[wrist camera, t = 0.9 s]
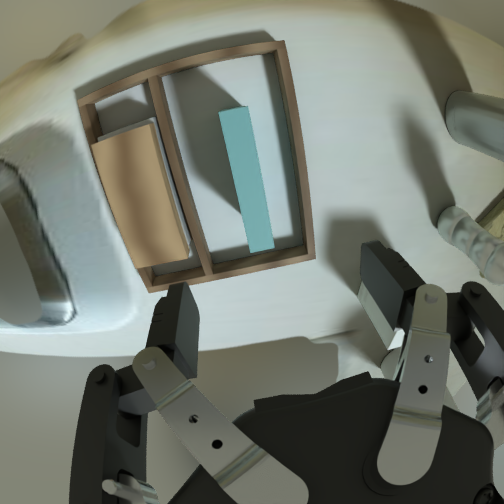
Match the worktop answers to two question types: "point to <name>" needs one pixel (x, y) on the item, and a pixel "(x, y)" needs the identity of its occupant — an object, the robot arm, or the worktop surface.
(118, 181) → the oak offcut top
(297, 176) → the tray
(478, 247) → the plastic bottle
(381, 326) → the supplement box
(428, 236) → the worktop surface
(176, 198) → the grey flat panel
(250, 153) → the teal block
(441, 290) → the robot arm
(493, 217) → the decorative tile
